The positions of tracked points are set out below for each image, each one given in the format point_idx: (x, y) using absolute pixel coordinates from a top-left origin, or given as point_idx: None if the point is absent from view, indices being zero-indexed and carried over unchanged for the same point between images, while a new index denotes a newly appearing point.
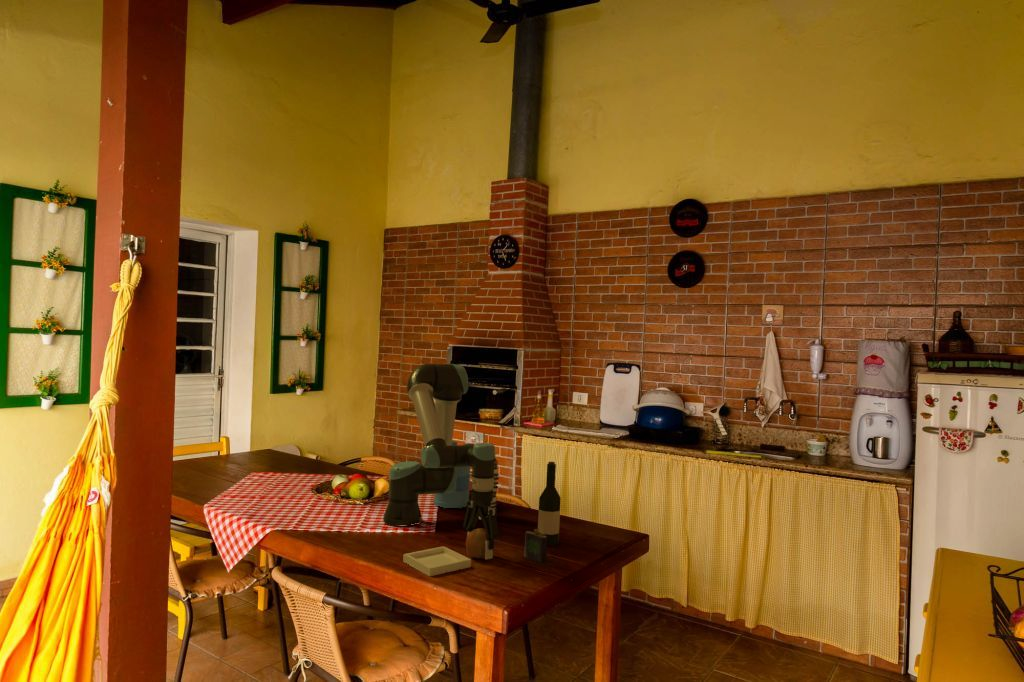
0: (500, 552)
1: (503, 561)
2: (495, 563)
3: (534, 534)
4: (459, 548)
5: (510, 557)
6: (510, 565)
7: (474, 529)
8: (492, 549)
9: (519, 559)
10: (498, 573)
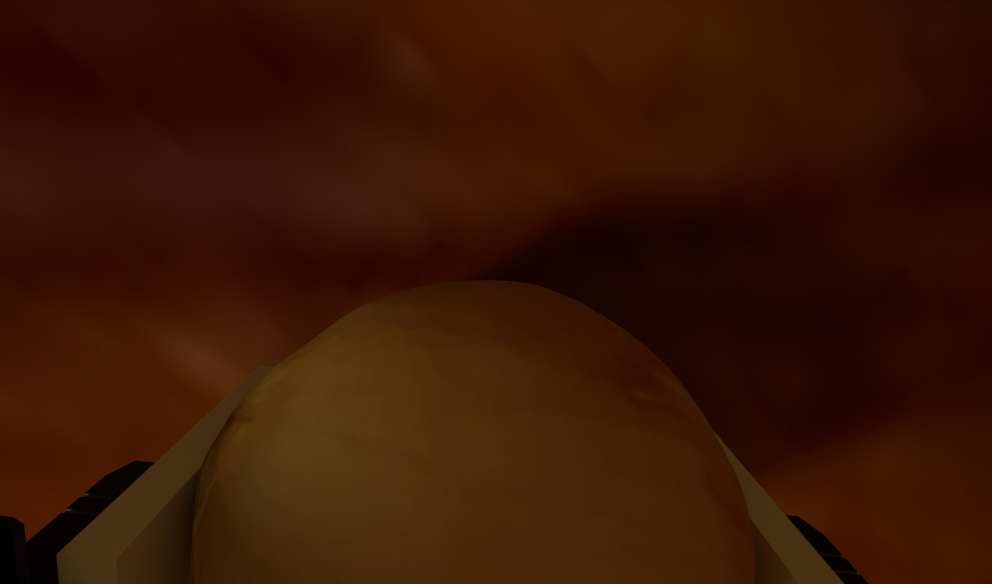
0: (500, 39)
1: (770, 281)
2: (744, 403)
3: None
4: (46, 374)
5: (741, 89)
6: (918, 316)
7: (25, 554)
8: (747, 480)
9: (882, 49)
10: (952, 574)
